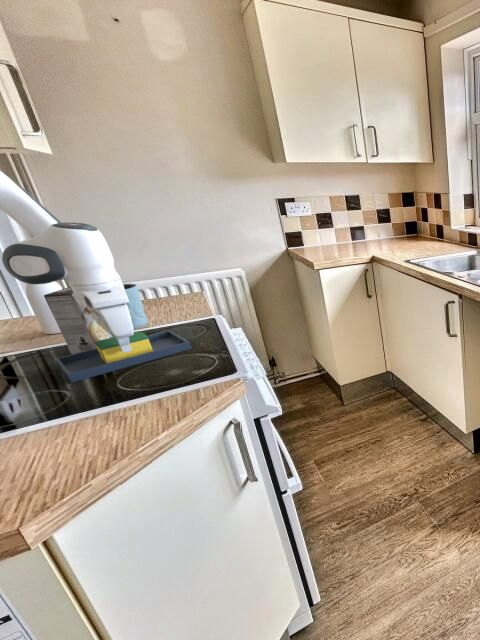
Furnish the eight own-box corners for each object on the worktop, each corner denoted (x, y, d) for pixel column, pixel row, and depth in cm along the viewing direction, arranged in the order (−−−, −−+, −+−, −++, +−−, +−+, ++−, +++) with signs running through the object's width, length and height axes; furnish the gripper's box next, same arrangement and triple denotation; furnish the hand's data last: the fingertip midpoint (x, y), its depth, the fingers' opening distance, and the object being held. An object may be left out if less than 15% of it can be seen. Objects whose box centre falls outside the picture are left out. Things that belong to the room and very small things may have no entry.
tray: (71, 382, 94) (67, 374, 93) (58, 366, 102) (54, 358, 102) (191, 348, 111) (189, 341, 110) (172, 336, 119) (169, 330, 119)
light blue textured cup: (158, 320, 133) (145, 283, 128) (130, 332, 124) (114, 292, 119) (128, 320, 134) (114, 283, 129) (97, 332, 124) (81, 292, 120)
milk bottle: (47, 336, 121) (15, 268, 114) (40, 331, 125) (9, 265, 118) (83, 328, 127) (54, 262, 120) (75, 324, 131) (47, 260, 124)
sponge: (107, 364, 102) (100, 347, 100) (101, 358, 105) (94, 341, 103) (153, 351, 108) (147, 335, 106) (146, 346, 112) (140, 330, 110)
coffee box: (96, 341, 117) (72, 285, 111) (121, 339, 118) (99, 283, 112) (69, 354, 109) (42, 294, 103) (97, 352, 110) (72, 293, 104)
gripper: (73, 289, 103) (95, 341, 109) (92, 303, 92) (115, 360, 97) (107, 284, 108) (126, 334, 113) (129, 296, 96) (149, 352, 102)
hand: (121, 346), depth 105 cm, fingers open, 8 cm apart
